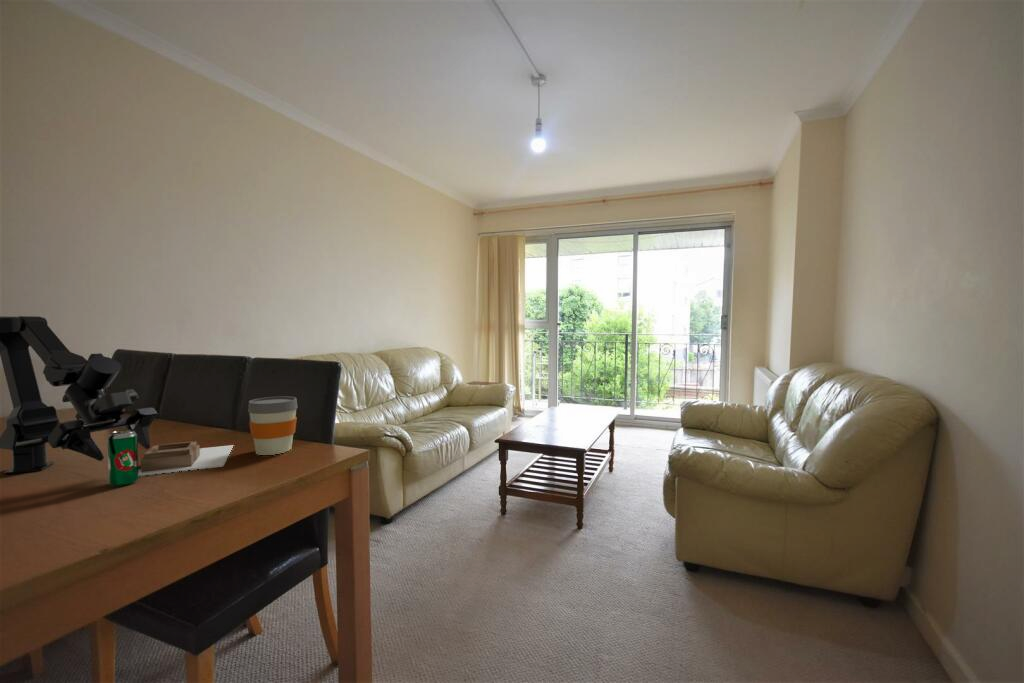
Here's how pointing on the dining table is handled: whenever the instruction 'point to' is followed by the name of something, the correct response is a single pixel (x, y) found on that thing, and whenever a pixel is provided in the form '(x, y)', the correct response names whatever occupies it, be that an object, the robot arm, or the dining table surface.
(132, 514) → the dining table surface
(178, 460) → the socket block
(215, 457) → the white flat sheet
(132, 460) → the soda can
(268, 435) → the reusable coffee cup
